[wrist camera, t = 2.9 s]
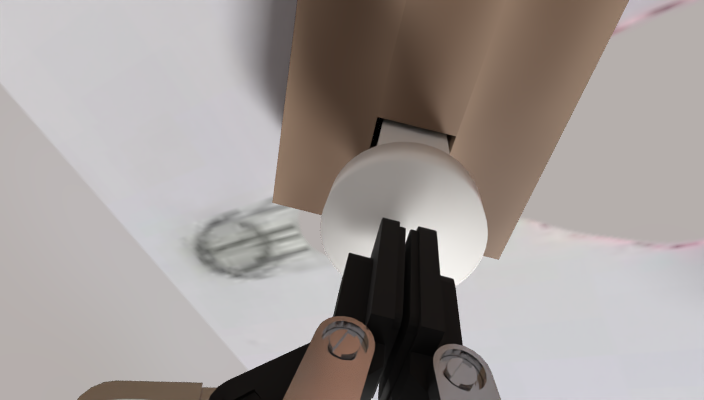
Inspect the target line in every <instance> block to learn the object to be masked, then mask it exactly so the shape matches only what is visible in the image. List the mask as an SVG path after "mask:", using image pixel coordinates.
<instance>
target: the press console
mask: <svg viewBox="0 0 704 400" xmlns="http://www.w3.org/2000/svg"><path fill="white" fill-rule="evenodd" d="M628 2H629V0H297V8H296V16H295V24H294V32H293V40H292V48H291V57H290V65H289V73H288V81H287V89H286V97H285V105H284V113H283V121H282V129H281V138H280V146H279V154H278V162H277V170H276V178H275V186H274V194H273V202H272V203H276V204H280V205H284V206H288V207H292V208H296V209H300V210H304V211H308V212H312V213H316V214H319V215H322V213H323V209H324V206H325V204H326V201H327V198H328V196H329V193H330V191H331V188H332V186H333V183H334V181H335V179H336V177H337V176H338V174H339V173H340V171H341V170H342V169H343V168H344V166H345V165H346V164H347V163H348V162H349V161H351V160H352V159H353V158H354V157H356V156H357V155H359V154H360V153H362V152H364V151H366V150H368V149H370V148H372V147H375V146H377V142H374V141H372V139H373V135H374V130H375V126H376V122H377V118H378V117H380V118H384V119H388V120H392V121H396V122H400V123H404V124H408V125H412V126H416V127H420V128H424V129H428V130H432V131H436V132H440V133H445V134H446V135H447V141H448V146H449V152H450V156H452V157H454V158H455V159H456V160H457V161H458V162H460V163H461V164H462V165H463V166H464V167H465V168H466V170H467V171H468V172H469V173H470V175H471V176H472V178H473V179H474V181H475V183H476V186H477V188H478V191H479V194H480V198H481V202H482V205H483V209H484V213H485V217H486V220H487V228H488V238H487V244H486V249H485V252H484V254H483V256H486V257H490V258H494V259H498V260H499V258H500V256H501V254H502V252H503V250H504V248H505V246H506V244H507V242H508V240H509V238H510V236H511V234H512V232H513V230H514V228H515V226H516V224H517V222H518V220H519V218H520V216H521V214H522V212H523V210H524V208H525V206H526V204H527V202H528V200H529V198H530V196H531V194H532V192H533V190H534V188H535V186H536V184H537V182H538V180H539V178H540V176H541V174H542V172H543V170H544V168H545V166H546V164H547V162H548V160H549V158H550V157H551V155H552V153H553V151H554V149H555V147H556V144H557V143H558V141H559V139H560V137H561V135H562V133H563V131H564V128H565V127H566V124H567V123H568V121H569V119H570V117H571V115H572V113H573V111H574V109H575V107H576V105H577V103H578V101H579V99H580V97H581V95H582V93H583V91H584V89H585V87H586V85H587V83H588V81H589V79H590V77H591V75H592V73H593V71H594V69H595V67H596V65H597V63H598V61H599V59H600V57H601V55H602V53H603V51H604V49H605V47H606V45H607V43H608V41H609V39H610V37H611V35H612V33H613V31H614V29H615V27H616V25H617V23H618V21H619V19H620V17H621V15H622V13H623V11H624V9H625V7H626V5H627V3H628Z"/></svg>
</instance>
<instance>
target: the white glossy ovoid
mask: <svg viewBox="0 0 704 400" xmlns="http://www.w3.org/2000/svg"><path fill="white" fill-rule="evenodd" d="M383 217H384V218H388V219H392V220H396V221H400V227H404V228H406V239H405V243H406V240H407V237H408V234H409V231H410V230H411V229H412V230H417V228H418V227H419V226H420V227H424V228H428V229H432V230H436V231H437V239H438V251H439V263H440V275H441V276H445V277H449V278H453V279H454V282H455V286H457V285H458V284H460V283H461V282H462V281H464V280H465V279H466V278H467V277H468V276H469V275H470V274H471V273H472V272H473V271H474V269H475V268H476V267H477V266H478V264H479V262H480V260H481V259H482V257H483V254H484V252H485V249H486V244H487V238H488V228H487V220H486V217H485V213H484V209H483V205H482V202H481V198H480V194H479V191H478V188H477V186H476V183H475V181H474V179H473V178H472V176H471V175H470V173H469V172H468V171H467V170H466V168H465V167H464V166H463V165H462V164H461V163H460V162H458V161H457V160H456V159H455V158H454V157H452V156H450V152H449V146H448V141H447V135H446V134H445V133H440V132H436V131H432V130H428V129H424V128H420V127H416V126H412V125H408V124H404V123H400V122H396V121H392V120H388V119H383V123H382V126H381V130H380V134H379V138H378V142H377V146H375V147H372V148H370V149H368V150H366V151H364V152H362V153H360V154H359V155H357V156H356V157H354V158H353V159H352V160H351V161H349V162H348V163H347V164H346V165H345V166H344V168H343V169H342V170H341V171H340V173H339V174H338V176H337V177H336V179H335V181H334V183H333V186H332V188H331V191H330V193H329V196H328V198H327V201H326V204H325V206H324V209H323V213H322V216H321V223H320V233H321V240H322V244H323V247H324V250H325V252H326V254H327V256H328V258H329V260H330V261H331V263H332V264H333V266H334V267H335V268H336V269H337V270H338V272H339V273H340V274H341V275H342V276H343V273H344V269H345V265H346V261H347V258H348V254H349V253H353V254H357V255H361V256H365V257H369V258H370V257H371V254H372V250H373V247H374V243H375V240H376V237H377V233H378V230H379V226H380V223H381V220H382V218H383Z"/></svg>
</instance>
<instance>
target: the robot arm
mask: <svg viewBox="0 0 704 400" xmlns="http://www.w3.org/2000/svg"><path fill="white" fill-rule="evenodd" d="M405 239H406V228H404V227H400V221H396V220H392V219H388V218H384V217H383V218H382V220H381V223H380V226H379V230H378V233H377V237H376V240H375V243H374V247H373V250H372V254H371V257H370V258H369V257H365V256H361V255H357V254H353V253H349V254H348V258H347V261H346V265H345V269H344V273H343V277H342V281H341V285H340V289H339V293H338V298H337V302H336V306H335V311H334V315H333V317H332V318H328V319H327V320H325V321H323V322H322V323H321V324H320V325H319V327H318V328H317V330H316V332H315V334H314V336H313V338H312V340H311V342H310V343H308V344H306V345H304V346H302V347H299V348H297V349H295V350H293V351H291V352H289V353H286V354H284V355H282V356H280V357H278V358H276V359H273V360H271V361H269V362H267V363H265V364H263V365H260V366H258V367H256V368H254V369H252V370H250V371H247V372H245V373H243V374H241V375H239V376H237V377H234V378H232V379H230V380H228V381H226V382H225V383H223V384H222V385H220V386H218V387H217V388H208V387H203V383H191V382H149V381H109V382H103V383H101V384H98V385H96V386H94V387H91V388H90V389H89V390H87V391H86V392H85V393H83V394H82V395H81V396H80V397H79V398H78V399H77V400H371V398H373V397H374V394H375V392H376V389H377V386H378V384H379V392H378V399H379V400H501V398H500V395H499V392H498V389H497V386H496V384H495V381H494V378H493V375H492V372H491V370H490V368H489V366H488V364H487V363H486V362H485V361H484V360H483V358H482V357H481V356H480V355H478V354H477V353H476V352H474V351H473V350H471V349H469V348H467V347H465V346H463V345H462V337H461V329H460V321H459V312H458V304H457V296H456V288H455V282H454V279H453V278H449V277H445V276H441V275H440V263H439V251H438V239H437V231H436V230H432V229H428V228H424V227H420V226H419V227H418V228H417V230H412V229H411V230H410V231H409V234H408V237H407V240H406V243H405Z"/></svg>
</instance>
